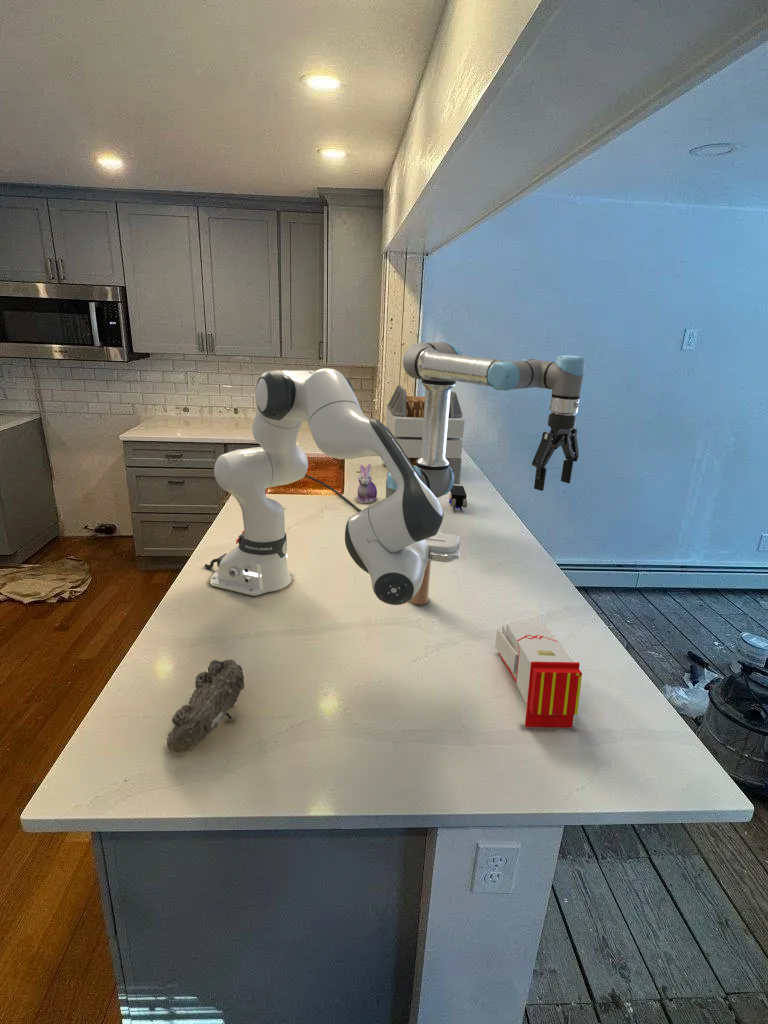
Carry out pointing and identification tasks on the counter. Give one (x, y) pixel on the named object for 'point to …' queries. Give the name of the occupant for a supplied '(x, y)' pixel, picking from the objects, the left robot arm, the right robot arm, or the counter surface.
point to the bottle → (423, 588)
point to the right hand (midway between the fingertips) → (552, 485)
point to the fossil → (206, 705)
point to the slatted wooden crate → (408, 427)
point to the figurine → (366, 486)
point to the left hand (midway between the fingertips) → (415, 529)
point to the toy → (541, 674)
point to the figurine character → (458, 497)
